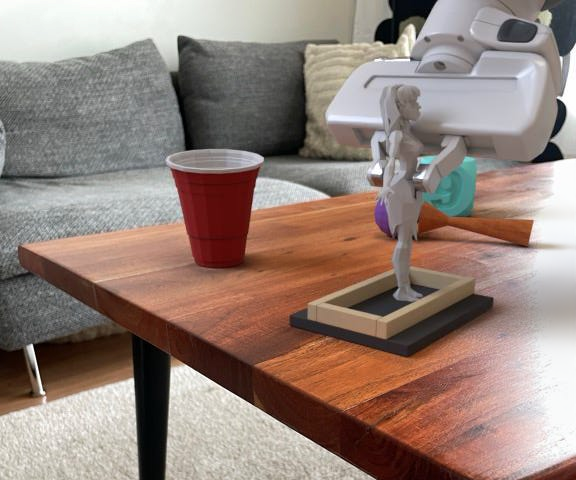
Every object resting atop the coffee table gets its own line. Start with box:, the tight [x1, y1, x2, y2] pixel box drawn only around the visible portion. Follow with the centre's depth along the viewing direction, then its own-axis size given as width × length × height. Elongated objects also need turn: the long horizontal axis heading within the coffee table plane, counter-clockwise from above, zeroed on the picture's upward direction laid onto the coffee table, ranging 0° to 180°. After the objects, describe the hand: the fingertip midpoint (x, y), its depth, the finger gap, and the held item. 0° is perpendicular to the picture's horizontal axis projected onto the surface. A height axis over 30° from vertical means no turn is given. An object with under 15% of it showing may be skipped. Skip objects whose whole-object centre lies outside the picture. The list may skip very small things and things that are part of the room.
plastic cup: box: [164, 148, 265, 268], centre depth 81 cm, size 11×11×12 cm
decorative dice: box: [420, 155, 478, 218], centre depth 108 cm, size 8×8×8 cm
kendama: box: [373, 198, 535, 248], centre depth 93 cm, size 6×6×20 cm
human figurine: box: [373, 84, 424, 302], centre depth 62 cm, size 12×4×18 cm, turn 158°
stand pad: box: [289, 265, 495, 358], centre depth 66 cm, size 12×16×2 cm
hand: (398, 185), depth 61 cm, fingers closed on human figurine, 3 cm apart
